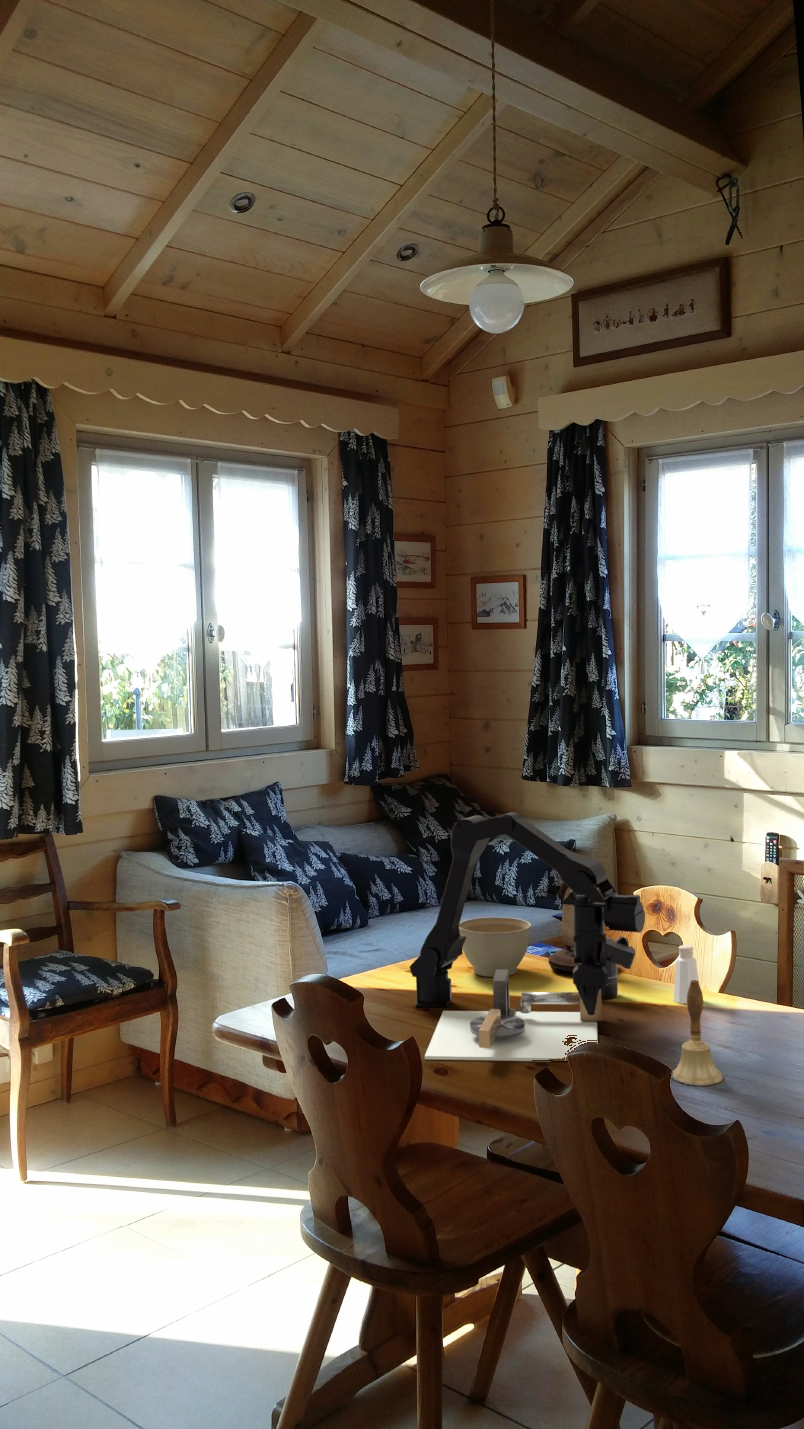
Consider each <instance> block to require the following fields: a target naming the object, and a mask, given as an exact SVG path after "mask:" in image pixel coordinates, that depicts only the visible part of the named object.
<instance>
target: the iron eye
mask: <svg viewBox="0 0 804 1429" xmlns="http://www.w3.org/2000/svg"><path fill="white" fill-rule="evenodd" d="M509 976H510V975H509V970H508V969H496V972H495V975H494V977H493V978H492V992H493V993H492V994H493V995H492V996H493V997H492V999H493V1007H492V1009H500V1014H501V1015H508V1016H514V1014H515V1011H516V1007H511V1005H510V978H509Z"/></svg>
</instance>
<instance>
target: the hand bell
mask: <svg viewBox="0 0 804 1429" xmlns="http://www.w3.org/2000/svg"><path fill="white" fill-rule="evenodd" d="M686 1006H687V1011H688V1014H689V1018H690V1025H689V1026H690V1027H689V1028H690V1031H689V1032H690V1033H689V1034H690V1035H689V1037H690V1038H689V1040H688V1041H685V1042H684V1043H683V1044H682V1046H681V1052H680V1054H681V1055H680V1058H679V1059H680V1060H679V1062H678V1064H677V1066H676V1068H674V1069H673V1070H672V1072H673V1078H674V1077H675V1080H676V1079H677V1081H680V1082H683V1083H685V1084H684V1085H687V1084H689V1085H688V1086H698V1087H699V1086H701V1087H703V1086H711V1085H715V1084H719V1083H721V1082H722V1081H723V1079H724V1076H723V1074H722V1072H721V1071H720V1070H719V1069H718V1068H717V1067H716V1065H715V1063H714V1061H713V1057H712V1053H711V1046H710V1045H709V1043H707V1042H705V1041H703V1040H702V1031H701V1016H702V1013H703V1006H704V996H703V991H702V988H701V986H700V980H699V981H697V980H691V982H690V986H689V989H688V993H687V1004H686ZM675 1080H674V1081H675ZM677 1081H676V1082H677Z"/></svg>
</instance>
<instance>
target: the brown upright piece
mask: <svg viewBox="0 0 804 1429" xmlns="http://www.w3.org/2000/svg"><path fill="white" fill-rule="evenodd" d="M562 882H563V881H562ZM598 890H599V889H598ZM559 891H560V892H559V894H560V897H561V900H562V901H563V900H564V899H565V898H566V897H567V896H568V895H569V893H570V892H571V891H572V890H571V889H570V888H569V887H568V886H567V885H566V884H565V883H564V882H563V883H561V886H560V890H559ZM599 891H600V890H599ZM561 914H562V915H561V916H562V917H561V937H562V938H561V939H562V942H563V943H564V946H565V948H564V949H561V950H557V951H556V952H554V953H552V954H551V955H549V956H548V965H549V966H550V968H551V969H558V970H562V971H567V972H568V971H569V972H573V969H574V968H575V964H579V963H574V922H573V905H566V904H562V909H561Z"/></svg>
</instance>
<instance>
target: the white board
mask: <svg viewBox="0 0 804 1429" xmlns="http://www.w3.org/2000/svg"><path fill="white" fill-rule="evenodd" d="M489 1011H490V1010H483V1011H482V1010H443V1011H442V1013H441V1016H440V1018H439V1021H438V1022H437V1025H436V1027H435V1030H434V1032H433V1035H432V1037H431V1040H430V1043H429V1045H428V1047H427V1049H426V1052H425V1054H424V1060H434V1061H436V1060H444V1061H451V1060H452V1061H499V1062H500V1061H501V1062H503V1061H505V1062H506V1061H507V1062H508V1061H509V1062H511V1061H512V1062H513V1061H514V1062H533V1061H532V1060H549V1059H558V1058H559V1059H562V1058H564V1057H565V1061H566V1057H567V1054H568V1053H569V1052H571V1051H572V1050H574V1048H576V1047H578V1046H579V1045H581V1044H584V1043H587V1042H597V1043H598V1021H580V1011H531V1012H530V1013H521V1012H520V1011H517V1010H515V1014H514V1017H518V1018H520V1019H522V1020H523V1021H524V1022H525V1031H524V1032H523V1033H522V1034H520V1035H517V1036H513V1037H508V1038H494V1040H493V1042H492V1044H491V1046H490V1048H479V1036H477V1035H474V1034H473V1033H471V1031H470V1022H471V1021H472V1020H473V1019H476V1018H478V1017H482V1016H487V1015H488V1013H489ZM568 1035H577V1036H568ZM567 1036H568V1037H567ZM569 1037H575V1038H577V1039H576V1040H575V1039H572V1041H573V1042H576V1043H570V1044H569V1045H571V1044H572V1046H569V1045H568V1046H567V1045H564V1042H565V1041H567V1039H565V1038H569ZM579 1040H581V1041H579ZM587 1040H597V1041H587ZM562 1041H564V1042H562ZM577 1041H578V1042H577ZM582 1041H586V1042H582ZM580 1042H582V1043H580ZM578 1043H580V1044H578ZM566 1044H567V1043H566ZM574 1045H576V1046H574ZM573 1046H574V1047H573ZM571 1047H573V1048H572V1049H571V1050H570V1048H571ZM568 1050H569V1052H567V1051H568ZM565 1053H567V1054H566V1055H565Z"/></svg>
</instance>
